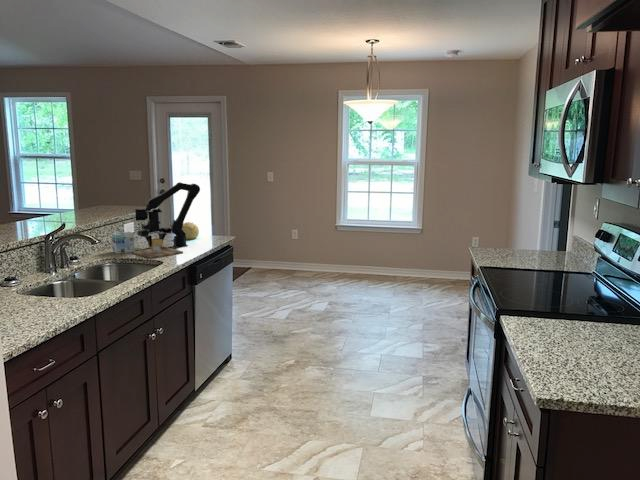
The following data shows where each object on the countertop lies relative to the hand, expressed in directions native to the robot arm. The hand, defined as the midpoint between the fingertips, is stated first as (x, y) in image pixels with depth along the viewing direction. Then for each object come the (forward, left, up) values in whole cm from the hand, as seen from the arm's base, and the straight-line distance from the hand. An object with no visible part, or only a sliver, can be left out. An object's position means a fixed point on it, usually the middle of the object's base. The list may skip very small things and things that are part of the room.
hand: (155, 246), depth 302 cm
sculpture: (-31, -12, -1) cm, 33 cm away
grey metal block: (+9, +18, -1) cm, 20 cm away
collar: (0, 0, -1) cm, 1 cm away
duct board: (+7, +15, -1) cm, 17 cm away
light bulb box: (+18, -3, -1) cm, 18 cm away
